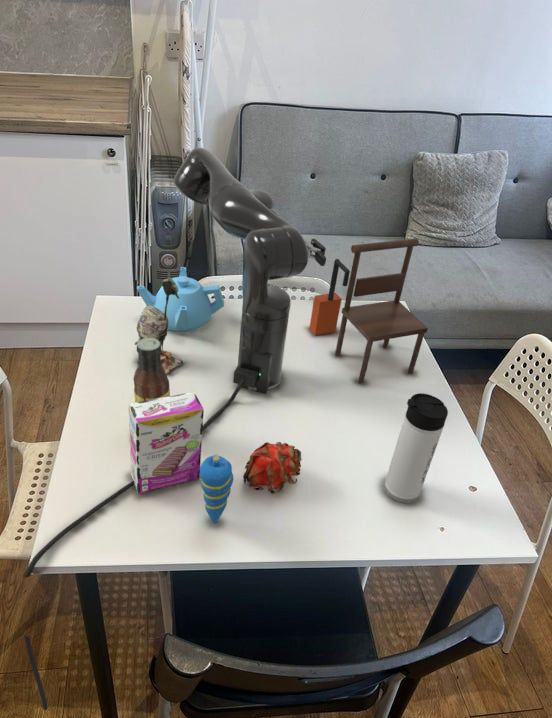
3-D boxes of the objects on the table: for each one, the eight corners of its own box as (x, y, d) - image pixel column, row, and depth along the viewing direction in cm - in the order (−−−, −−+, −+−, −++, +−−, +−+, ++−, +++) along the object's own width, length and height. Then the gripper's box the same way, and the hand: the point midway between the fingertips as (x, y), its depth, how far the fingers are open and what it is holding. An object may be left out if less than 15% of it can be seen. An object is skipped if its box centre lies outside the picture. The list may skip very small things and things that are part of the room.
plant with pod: (155, 343, 142) (153, 261, 129) (188, 366, 136) (190, 282, 124) (125, 356, 137) (120, 272, 125) (158, 380, 131) (157, 295, 119)
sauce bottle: (176, 427, 120) (177, 339, 108) (162, 447, 116) (161, 358, 103) (145, 417, 122) (142, 329, 110) (130, 437, 117) (125, 348, 105)
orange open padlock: (344, 343, 148) (360, 268, 136) (324, 346, 146) (337, 271, 134) (329, 325, 154) (342, 252, 142) (309, 328, 152) (321, 255, 140)
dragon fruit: (302, 477, 115) (247, 508, 110) (279, 435, 116) (223, 465, 111) (320, 469, 107) (262, 503, 103) (296, 425, 108) (237, 456, 103)
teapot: (180, 345, 142) (181, 303, 135) (135, 318, 149) (134, 277, 142) (227, 320, 152) (229, 280, 145) (182, 296, 159) (183, 257, 152)
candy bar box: (138, 496, 106) (135, 422, 96) (130, 476, 110) (126, 402, 99) (201, 480, 110) (205, 407, 100) (192, 461, 114) (194, 389, 103)
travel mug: (378, 477, 114) (403, 389, 102) (413, 477, 115) (443, 390, 102) (386, 503, 109) (414, 415, 97) (423, 503, 110) (456, 415, 98)
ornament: (225, 537, 101) (230, 470, 92) (193, 530, 101) (196, 463, 92) (232, 513, 105) (238, 447, 96) (202, 507, 106) (205, 440, 96)
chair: (416, 373, 141) (449, 263, 124) (356, 385, 136) (383, 271, 119) (388, 344, 149) (415, 236, 132) (330, 353, 144) (351, 243, 127)
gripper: (303, 246, 168) (331, 275, 157) (253, 251, 164) (279, 281, 152) (307, 219, 164) (336, 247, 152) (256, 224, 159) (282, 253, 147)
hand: (308, 264), depth 152 cm, fingers open, 8 cm apart
